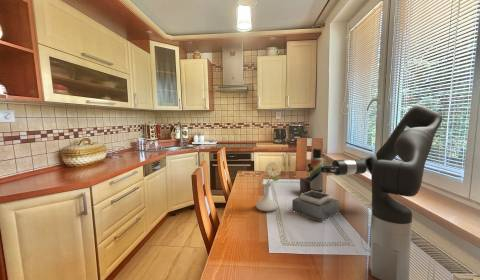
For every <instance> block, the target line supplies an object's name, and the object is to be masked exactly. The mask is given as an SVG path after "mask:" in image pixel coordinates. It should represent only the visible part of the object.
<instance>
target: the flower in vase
mask: <svg viewBox="0 0 480 280" xmlns="http://www.w3.org/2000/svg"><path fill="white" fill-rule="evenodd" d="M265 172H266V173H267V175H268V176H270V178H269V179H268V178H266V177H263V176H261V178H262V179H264V180H267V181H262V182H261V184H262V186H263V189H264V195H263V197H262V198H261V199H259V200H258V201H257V202H256V203H255V207H256V209H258V210H259V211H263V212H273V211H276V210H277V209H278V203H277V202H276V201H275V200H273V199H272V198H271V197H270V187H271V185H272V182H271V180H272V181H273V182H277V181H280V178H279V177H278V176H279V175H280V174H281V172H282V168H281V167H280V164H279V163H278V162H275V161H270V162H269V163H266V167H265Z"/></svg>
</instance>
